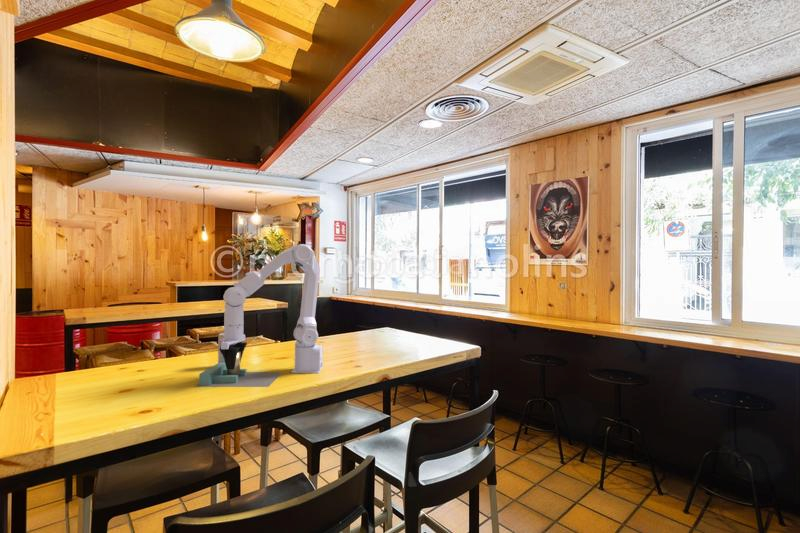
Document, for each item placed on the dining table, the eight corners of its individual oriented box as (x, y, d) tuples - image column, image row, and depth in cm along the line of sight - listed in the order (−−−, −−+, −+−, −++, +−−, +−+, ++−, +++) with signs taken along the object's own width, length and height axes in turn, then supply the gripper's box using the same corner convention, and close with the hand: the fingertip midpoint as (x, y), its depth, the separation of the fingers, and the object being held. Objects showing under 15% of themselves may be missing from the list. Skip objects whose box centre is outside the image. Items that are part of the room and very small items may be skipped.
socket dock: (249, 372, 131) (249, 362, 131) (232, 385, 117) (232, 374, 117) (219, 372, 131) (219, 362, 131) (199, 385, 117) (199, 373, 117)
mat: (282, 372, 132) (282, 372, 132) (268, 387, 116) (268, 386, 116) (217, 372, 132) (217, 372, 132) (194, 387, 116) (194, 386, 116)
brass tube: (242, 372, 126) (242, 350, 126) (237, 375, 122) (237, 353, 122) (229, 372, 126) (229, 350, 126) (224, 375, 122) (224, 353, 122)
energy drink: (237, 365, 141) (237, 332, 141) (229, 369, 136) (229, 335, 136) (223, 365, 141) (223, 332, 141) (214, 368, 136) (215, 334, 136)
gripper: (230, 321, 131) (229, 361, 131) (211, 328, 116) (210, 373, 116) (251, 321, 131) (251, 361, 131) (234, 328, 117) (234, 373, 117)
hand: (233, 367), depth 124 cm, fingers closed on brass tube, 4 cm apart
